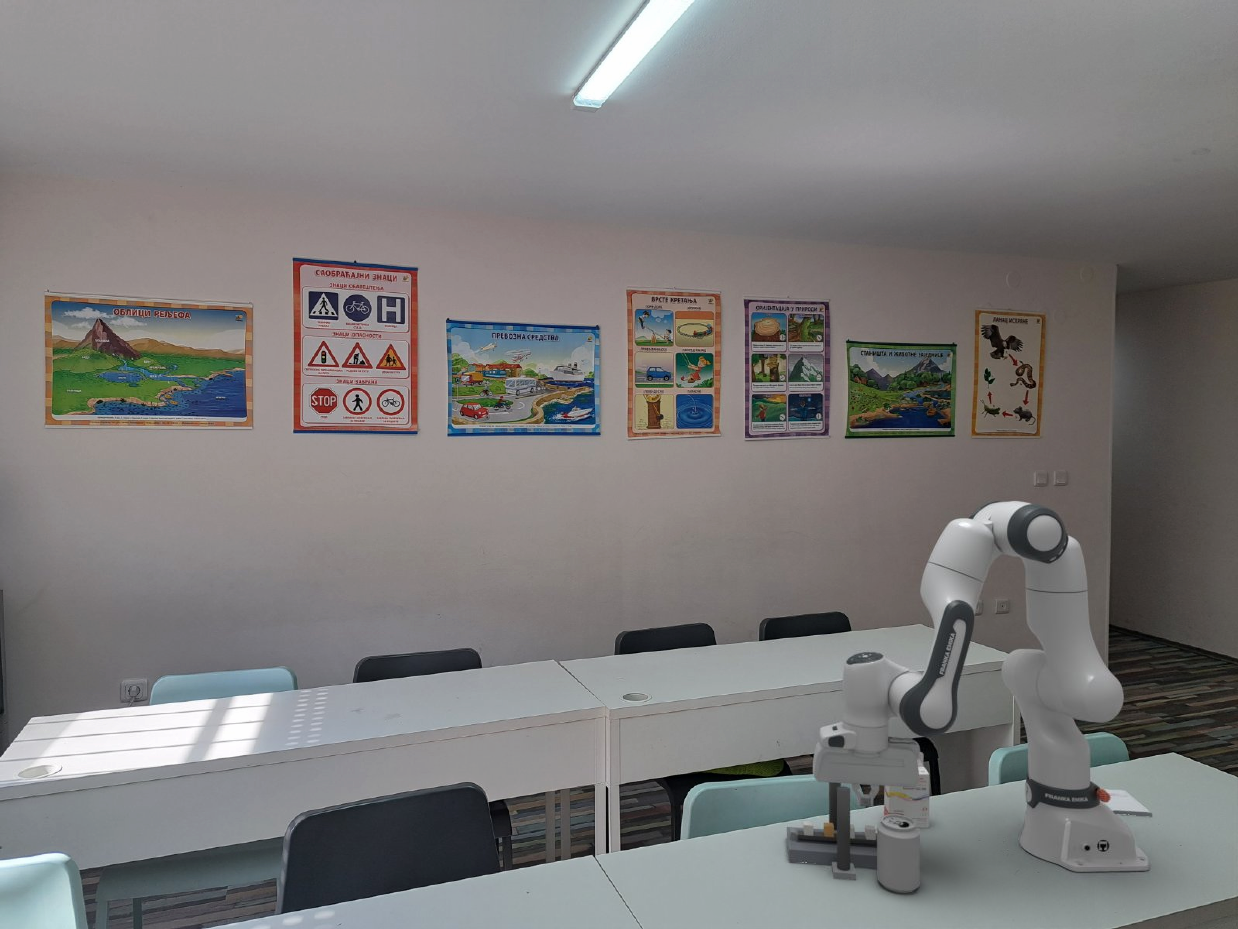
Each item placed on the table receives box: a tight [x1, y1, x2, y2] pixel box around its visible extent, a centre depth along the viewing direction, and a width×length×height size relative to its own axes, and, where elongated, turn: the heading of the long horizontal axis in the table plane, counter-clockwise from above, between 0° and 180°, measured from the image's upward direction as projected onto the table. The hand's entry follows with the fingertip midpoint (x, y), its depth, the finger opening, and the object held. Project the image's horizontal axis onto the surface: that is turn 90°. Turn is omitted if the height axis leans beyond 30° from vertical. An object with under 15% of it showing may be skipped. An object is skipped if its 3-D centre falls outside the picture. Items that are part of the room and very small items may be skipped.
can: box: [876, 814, 921, 894], centre depth 151 cm, size 8×8×12 cm
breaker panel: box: [786, 826, 877, 870], centre depth 163 cm, size 20×10×4 cm, turn 81°
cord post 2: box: [831, 785, 857, 881], centre depth 155 cm, size 4×4×16 cm
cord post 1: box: [828, 782, 842, 830], centre depth 171 cm, size 4×4×16 cm
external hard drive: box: [1100, 788, 1153, 818], centre depth 187 cm, size 2×8×12 cm
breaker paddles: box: [798, 820, 877, 844], centre depth 163 cm, size 16×2×3 cm, turn 81°
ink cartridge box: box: [883, 752, 931, 829], centre depth 177 cm, size 9×5×15 cm, turn 84°
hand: (865, 805), depth 162 cm, fingers closed
